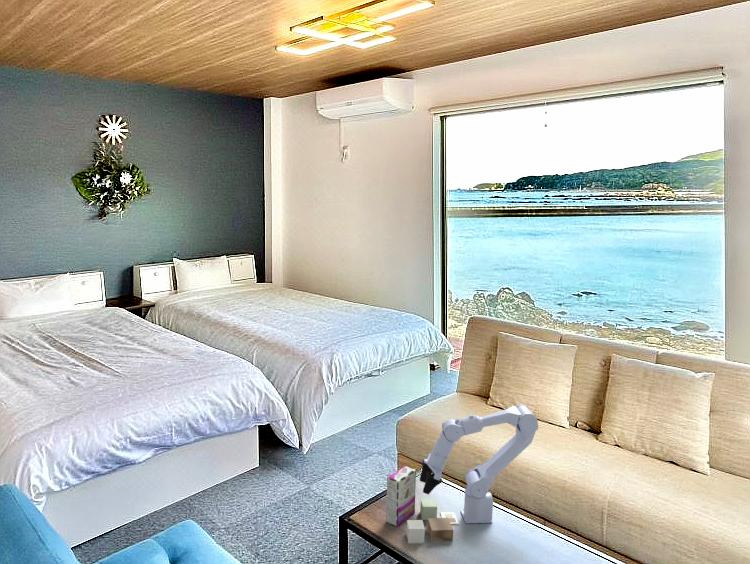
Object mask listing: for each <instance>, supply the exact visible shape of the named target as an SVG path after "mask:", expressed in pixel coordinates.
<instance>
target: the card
mask: <svg viewBox="0 0 750 564" xmlns="http://www.w3.org/2000/svg"><path fill="white" fill-rule="evenodd" d="M439 513H440V518H449V520H450V523H451V525H453V526H454V525H455V526H456V525H459V522H458V519H457V516H456V513H455V511H447V512H446V511H444V512H443V511H441V512H439ZM459 526H460V525H459Z"/></svg>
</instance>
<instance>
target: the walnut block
mask: <svg viewBox="0 0 750 564" xmlns="http://www.w3.org/2000/svg"><path fill="white" fill-rule="evenodd" d="M426 530H427V532H428V535H429V538H430V541H431V542H447V541H449V542H450V541H451V542H452V541H454V528H453V526H452V525H451V523H450V520H449V518H442V517H437V518H428V520H427V529H426Z"/></svg>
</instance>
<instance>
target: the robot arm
mask: <svg viewBox="0 0 750 564" xmlns="http://www.w3.org/2000/svg"><path fill="white" fill-rule="evenodd" d="M441 424H442V425H441V429H442V430H441V432H440V434H439V436H438V438H437V440H436V441H435V444H434V446H433V448H432V450H431V452H430V453H428V455H427V456H426V458H424V459H422V461H421V463H422V464H421V466H422V467H421V472H420V476H419V482H421V483H424V485H423V489H422V493H424V494H426V495H430V494H431V493H432V491H433V490H434V489H435V488H436V487H437V486H438V485H440V484H442V483H443V479H442V474H443V473H442V472H443V470H444V467H445V464H446V462H447V460H448V459H449V456H450V454H451V452H452V450H453V448H454V447H455V444H456V442H458V441H460V439H461V438H462V437H465V436H469V435H473V434H477V433H480V432H482V431H483V429H484V428H486V427H490V426H491V427H492V426H497V425H501V424H508V425H510V426H512V427H515V435H513V436H512V437H511V438H510V439H509V440H508V441H507V442H506V443H504V445H502V447H500V449H499V450H498V451H497V452H495V453H494V454H493V455H492V456H491V457H490V458H489V459H488V460H487V461H485V463H484V464H479V465H476V466H475V467H474V468H470V469H469V470H468V471H466V473H465V475H464V480H465V481H464V482H465V483H466V487H465V490H464V502H463V503H464V505H463V508H461V509H460V513H461V516H462V518H463V521H464V523H465V524H493V511H494V510H493V509H494V500H493V495H492V492H490V491H489V490H490V489H491V487H492V486H493V484H494V479H495V478H496V477H497V476H498V475H499V474H500V473H501V472H503V470H504V469H505V468H506V467H507V466H509V464H511V462H512V461H514V460H515V459H516V458H517V457H518V456H519V455H520V454H521V453H523V451H524V450H526V449H527V448H528V446H530V445H531V443H533V440H534V437H535V434H536V431H537V430H538V429H539V422H538V418H537V416H535V414H534V413H533V412H532V411H531V409H530V408H529V407H528V406H527V405H525V404H518V405H512V406H510V407H508V408H506V409H502V410H500V411H496V412H493V413H490V414H487V415H483V416H479V415H477V414H472V413H471V414H469V415H468V416H465V417H461V418H459V417H458V418H457V417H456V418H455V419H451V418H449V419H447V420H445V421H444V422H442V423H441Z"/></svg>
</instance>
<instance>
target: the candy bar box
mask: <svg viewBox="0 0 750 564" xmlns="http://www.w3.org/2000/svg"><path fill="white" fill-rule="evenodd" d="M416 478H417V470H416V469H415V468H412V467H409V466H407V465H404V466H403V467H400V469H397V471H395V472H393V473H392V474H390V475H389V476H387V477H386V519H385V520H386V522H385V523H388V524H390V525H392V526H394V527H399V526H400V525H401V524H403V523H404V522H405V521H407V520H409V518H410V517H412V516H413V515H414V514H415V513H416V512H415V511H416V484H417V482H416V480H417V479H416Z"/></svg>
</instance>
